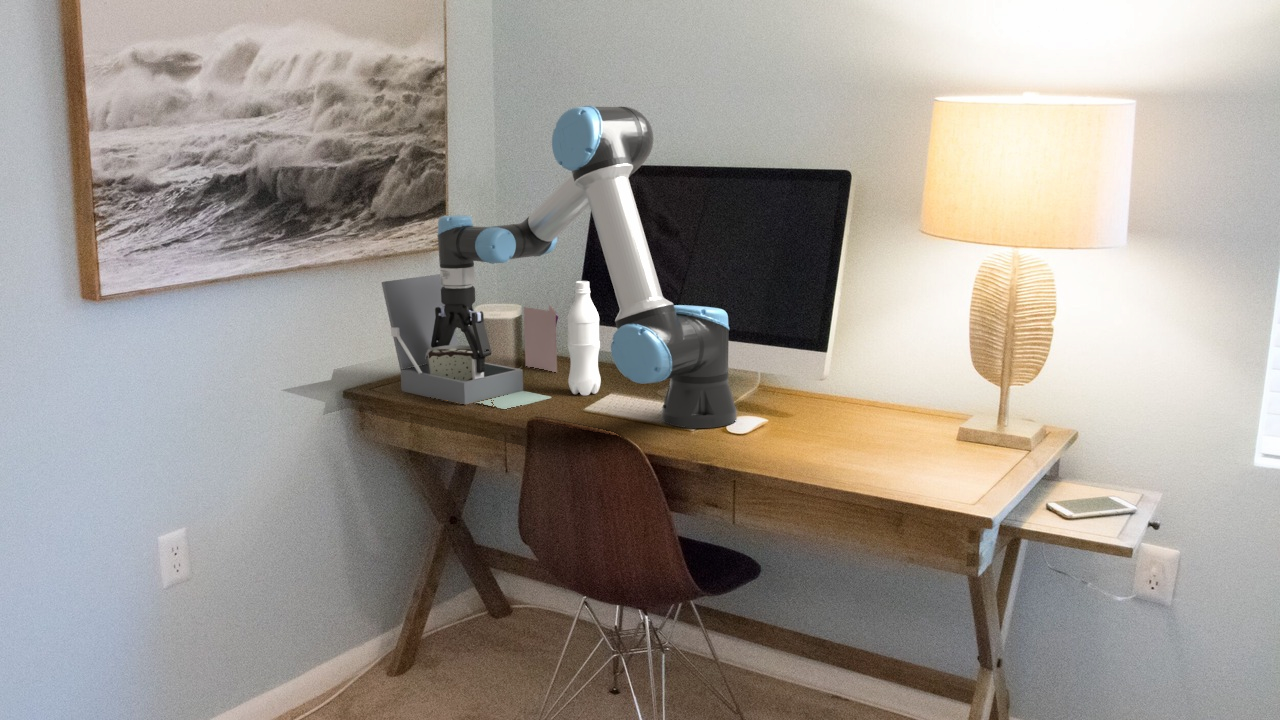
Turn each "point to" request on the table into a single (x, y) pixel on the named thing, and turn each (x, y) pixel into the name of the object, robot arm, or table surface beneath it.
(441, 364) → the food container
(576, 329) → the water bottle
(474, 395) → the case
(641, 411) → the table surface
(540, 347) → the greeting card
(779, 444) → the table surface
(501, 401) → the mat
